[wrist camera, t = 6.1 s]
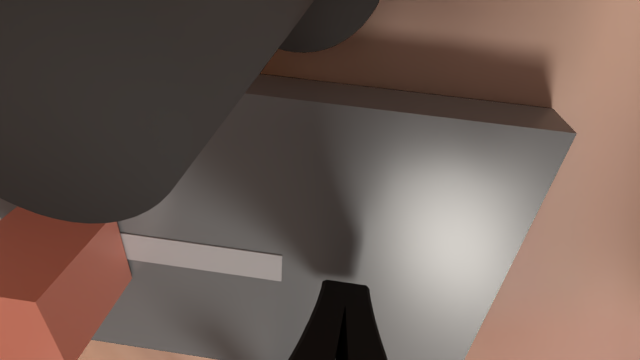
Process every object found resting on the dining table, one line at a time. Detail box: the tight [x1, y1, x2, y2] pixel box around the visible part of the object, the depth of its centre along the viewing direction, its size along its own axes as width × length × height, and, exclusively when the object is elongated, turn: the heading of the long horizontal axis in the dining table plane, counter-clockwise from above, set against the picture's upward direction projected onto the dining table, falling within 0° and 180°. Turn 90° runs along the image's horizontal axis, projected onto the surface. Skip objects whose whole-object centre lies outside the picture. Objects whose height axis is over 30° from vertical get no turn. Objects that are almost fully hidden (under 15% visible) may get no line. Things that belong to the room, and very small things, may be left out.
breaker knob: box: [0, 206, 132, 360], centre depth 12 cm, size 3×3×4 cm
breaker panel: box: [0, 74, 577, 360], centre depth 14 cm, size 20×12×2 cm, turn 86°
